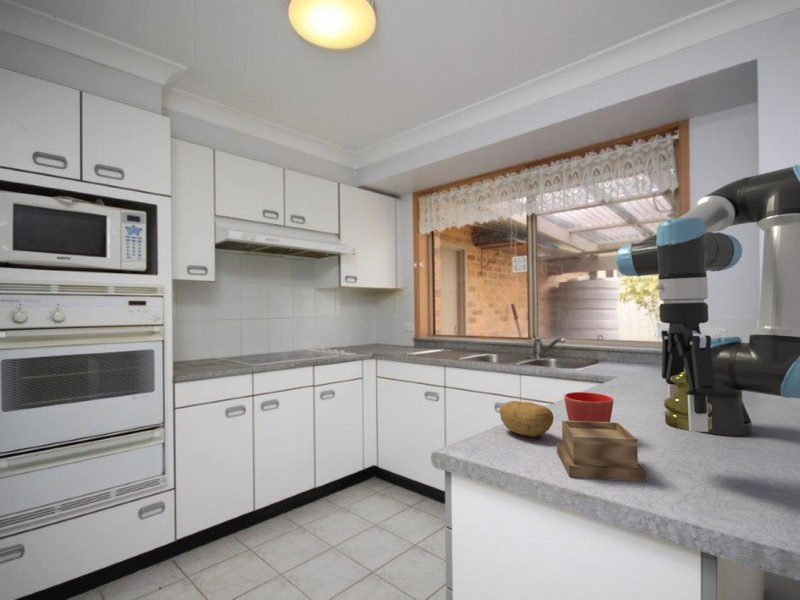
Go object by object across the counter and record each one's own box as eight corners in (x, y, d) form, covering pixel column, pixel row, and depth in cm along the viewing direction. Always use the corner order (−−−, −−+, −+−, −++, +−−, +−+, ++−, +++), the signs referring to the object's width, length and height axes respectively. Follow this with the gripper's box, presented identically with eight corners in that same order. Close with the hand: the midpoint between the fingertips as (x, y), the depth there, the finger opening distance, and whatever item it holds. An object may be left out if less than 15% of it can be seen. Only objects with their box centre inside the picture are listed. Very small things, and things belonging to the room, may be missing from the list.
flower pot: (621, 445, 93) (620, 402, 93) (569, 442, 95) (568, 400, 95) (607, 431, 103) (606, 392, 103) (561, 429, 105) (560, 391, 106)
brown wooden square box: (622, 455, 86) (621, 421, 86) (646, 481, 74) (645, 441, 74) (556, 452, 89) (556, 418, 89) (569, 476, 76) (568, 437, 76)
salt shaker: (720, 426, 76) (717, 372, 76) (701, 435, 72) (699, 377, 72) (675, 417, 82) (673, 367, 82) (656, 425, 78) (654, 372, 78)
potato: (514, 425, 110) (514, 395, 110) (562, 438, 98) (561, 404, 99) (489, 431, 104) (489, 400, 104) (537, 446, 93) (536, 411, 93)
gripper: (640, 302, 87) (644, 409, 87) (686, 302, 68) (692, 441, 67) (679, 300, 86) (683, 410, 86) (738, 301, 66) (744, 443, 66)
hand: (687, 423), depth 77 cm, fingers closed on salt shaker, 7 cm apart
